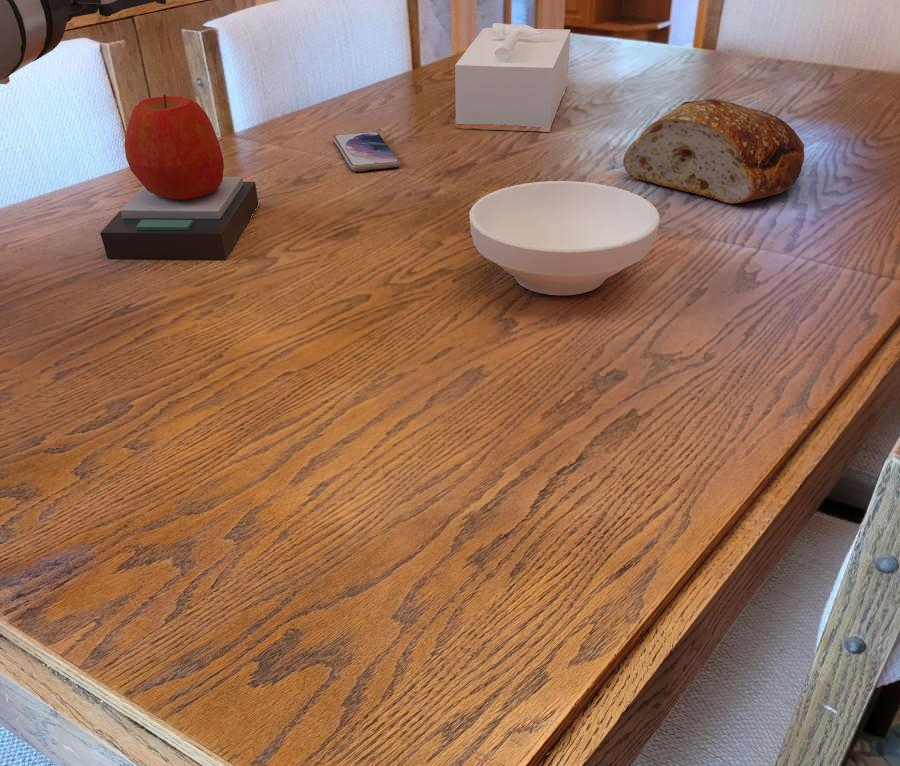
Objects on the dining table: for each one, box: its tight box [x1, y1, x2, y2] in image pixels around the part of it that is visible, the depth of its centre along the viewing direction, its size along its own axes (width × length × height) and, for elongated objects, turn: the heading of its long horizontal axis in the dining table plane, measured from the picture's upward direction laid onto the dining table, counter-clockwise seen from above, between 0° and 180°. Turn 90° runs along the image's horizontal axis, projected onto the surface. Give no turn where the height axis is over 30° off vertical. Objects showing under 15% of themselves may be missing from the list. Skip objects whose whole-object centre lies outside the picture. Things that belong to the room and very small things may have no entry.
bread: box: [622, 98, 805, 204], centre depth 116 cm, size 20×18×10 cm
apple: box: [124, 94, 225, 199], centre depth 105 cm, size 11×11×11 cm
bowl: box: [468, 180, 661, 296], centre depth 95 cm, size 20×20×7 cm
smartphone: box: [332, 131, 401, 172], centre depth 129 cm, size 7×1×15 cm
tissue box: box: [454, 22, 571, 128], centre depth 142 cm, size 14×25×11 cm, turn 169°
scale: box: [99, 176, 260, 261], centre depth 109 cm, size 14×17×4 cm
